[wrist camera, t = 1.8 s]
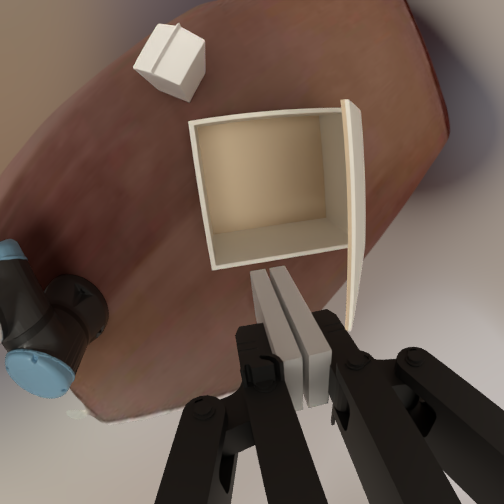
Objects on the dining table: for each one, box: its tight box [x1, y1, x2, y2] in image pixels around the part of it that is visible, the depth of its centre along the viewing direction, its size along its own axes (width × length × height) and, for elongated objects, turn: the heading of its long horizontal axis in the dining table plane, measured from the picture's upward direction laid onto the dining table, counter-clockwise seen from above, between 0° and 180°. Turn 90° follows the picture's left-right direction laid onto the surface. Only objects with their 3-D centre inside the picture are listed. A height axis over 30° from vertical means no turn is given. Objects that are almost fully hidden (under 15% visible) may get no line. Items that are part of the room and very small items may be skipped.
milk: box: [133, 23, 206, 102], centre depth 34 cm, size 6×6×22 cm
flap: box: [341, 100, 365, 331], centre depth 31 cm, size 21×19×1 cm
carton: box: [188, 108, 348, 270], centre depth 46 cm, size 22×20×14 cm
